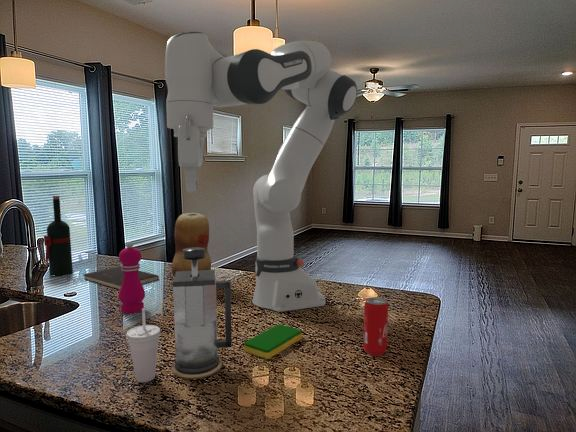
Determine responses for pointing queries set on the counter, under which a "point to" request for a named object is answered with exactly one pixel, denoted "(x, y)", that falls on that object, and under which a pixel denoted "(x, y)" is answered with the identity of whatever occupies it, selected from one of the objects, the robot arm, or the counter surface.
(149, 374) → the smoothie
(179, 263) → the butternut squash
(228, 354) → the counter surface
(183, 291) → the press carafe
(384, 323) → the beverage can
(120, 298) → the pepper mill
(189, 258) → the plunger
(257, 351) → the dish sponge
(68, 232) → the wine bottle
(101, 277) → the hardcover book
